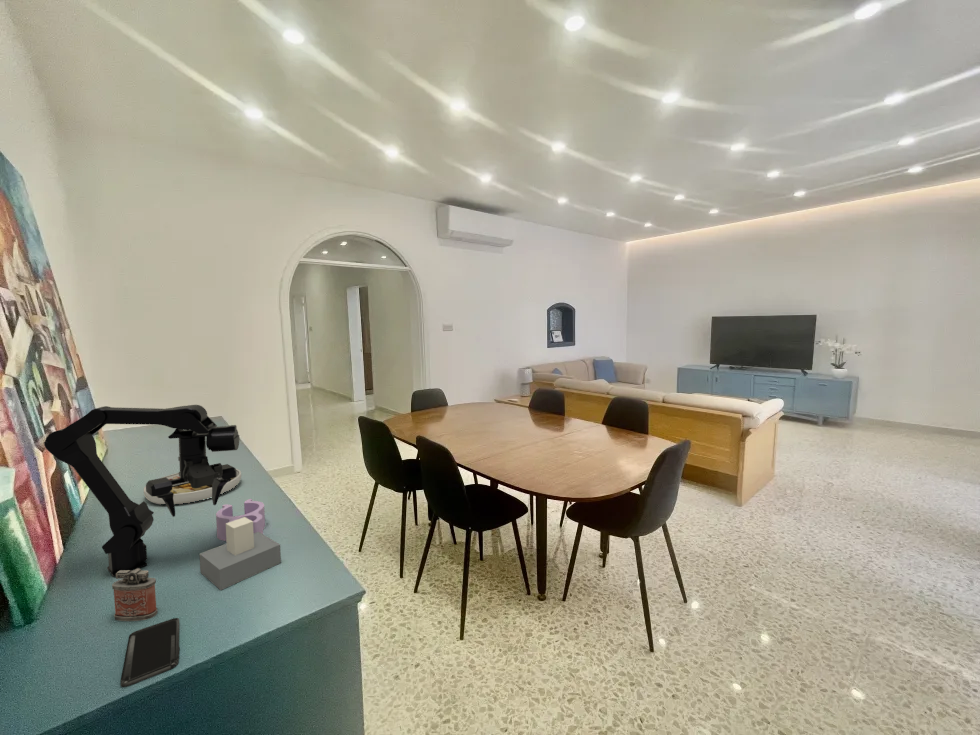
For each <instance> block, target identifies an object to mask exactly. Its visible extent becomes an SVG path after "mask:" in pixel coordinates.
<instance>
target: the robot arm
mask: <svg viewBox="0 0 980 735" xmlns="http://www.w3.org/2000/svg"><path fill="white" fill-rule="evenodd" d="M106 425H149V426H150V425H155V426H156V425H157V426H158V425H159V426H165V427H168V428H171V429H174V431H173V432H172V433H171V434H169V436H167V438H168V439H178V457H177V458H178V460H177V461H178V462H179V471H178V473H179V476H180V478H178V479H173V480H169V479H167V478H166V477H165V476H163V477H164V478H162V477H159V478H155V479H151V480H148V481H147V482H146V484H145V486H146V492H147V493H148V494H150V495H151V496H157V497H158V498H162V499H163V500H164V502H165V504H166V505H165V506H166V507H167V509H168V511H169V513H170V515H171V516H172V517H173V518H175V517H176V507H175V505H174V500H173V495H174V493H172V492H171V490H172V487H176V486H180V485H185V484H189V483H190V484H191V487H192V488H200V487H202V486H206V485H212V498H211V500H212V505H213V506H216V505H217V503H218V501H219V497H220V496H221V495H220V493H221V491H222V489H223V487H224V485H225V484H226V483H227V482H229V481H231V479H230V478H235V477H236V476H237V473H236V469H237V468H236V467H234V466H232V465H230V464H228V463H226V464H222V463H221V462H218V463H213V464H210V463H209V459H208V458H209V457H208V456H207V450H208V451H211V452H212V453H213V452H214V453H215V452H217V453H218V452H231V451H238V449H239V445H240V435H239V431H238V429H237V425H236V424H231V425H227V426H226V425H225V426H223V425H222V426H218V425H217V424H216V422H215V421H213V420H212V418H210V416H208V411H207V410H206V408H205V407H204V406H202V405H200V404H191V405H190V404H188V405H181V406H175V407H169V408H167V407H166V408H155V407H154V408H153V407H150V408H149V407H111V406H101V407H100V406H99V407H98V408H97V407H96V408H93V409H91V410H90V411H89V412H88V413H86V414H85V415H84V416H82V417H81V418H79V419H77V420H76V421H74V422H72V423H70V424H69V425H68V426H66V427H64V428H61V429H59V430H55V431H53V432H51V433H49V434H48V435H47V436H46V438H45V441H44V442H43V444H44V445H43V446H44V448H45V450H47V452H49V453H50V454H51V455H52V456H53V457H54V458H56V459H57V460H58V461H60V462H63V464H67V465H69V466H71V467H72V468H73V469H74V470H75V472H76V473H77V475H78V476H79V477H80V478H81V480H82V481H83V483H84V484H85V485H86V486H87V488H88V489H89V491H91V493H92V494H93V496H94V497H95V498H96V499H97V501H98V502H99V503H100V505H101V506H102V507H103V509H104V510H105V511H106V513H107V514H108V521H109V522H108V523H109V528H110V531H111V532H112V536H111V537H110V538H109V539H108V540H107V541H106V542H105V543H104V544H103V545H101V549H102V550H103V553H105V554H106V555H108V566H107V567H106V569H107V570H108V572H109V573H110V574H111V576H112V577H114V578H116V573H117V572H118V571H120V570H130V571H134V570H135V569H137V568H140V569H141V568H143V567H146V566H147V565H148V563H147V561H148V553H147V551H148V550H147V545H146V543H145V542H144V540H143V539H142V537H143V536H145V533H146V532H147V531H148V530H150V528H151V526H153V523H154V521H155V520H154V519H155V518H154V515H153V514H155V513H154V511H152V510H151V509H150V508H149V506H148V504H147V502H146V501H142V502H141V503H137V502H134V501H133V500H131V499H130V497H129V496H128V495H127V493H126V492H125V491H124V490H123V488H122V487H121V485H120V484H119V483H118V481H117V480H116V479H115V477H114V476H113V475H112V473H111V472H110V471H109V469H108V468H107V466H106V465H105V464H104V463H103V461H102V460H101V459H100V456H98V454H97V442H96V440H95V438H94V435H95V434H96V433H97V432H99V431H100V430H101V429H102V428H104V427H105V426H106Z"/></svg>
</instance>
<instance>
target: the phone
mask: <svg viewBox="0 0 980 735" xmlns="http://www.w3.org/2000/svg"><path fill="white" fill-rule="evenodd" d="M180 651H181V649H180V618H178V617H174V618H170V619H167V620H164V621H161V622H158V623H155V624H153V625H150V626H147V627H143V628H141V629H138V630H135V631H133V632H132V633H130V634H129V635H128V640H127V645H126V650H125V655H124V661H123V665H122V671H121V676H120V687H121V688H127V687H131V686H133V685H135V684H138V683H140V682H143V681H146V680H148V679H151V678H153V677H155V676H159V675H160V674H164V673H167V672H168V671H171V670H173V669H175V668H176V667H177V666H178V665H179V663H180V662H179V661H180Z"/></svg>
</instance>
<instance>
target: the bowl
mask: <svg viewBox="0 0 980 735" xmlns="http://www.w3.org/2000/svg"><path fill="white" fill-rule="evenodd" d="M236 473H237V476H236V477H235V478H230V479H231V481H229V482H227V483H226V484H225V485H224V487H223V489H222V491H221V493H220V494H222V493H224V492H226V491H228V492H230V491H232V490H233V489H234V488H236V487H237V486H238V484H239V483H240V482H241V479H242V471H241V470H240V469H238V468H236ZM164 477H166V478H167V479H169V480H173V479H178V478H180V476H179V472H176V473H172V474H169V475H165V476H163V477H161V478H164ZM236 485H237V486H236ZM235 486H236V487H235ZM232 488H233V489H232ZM231 489H232V490H231ZM229 490H230V491H229ZM171 492H172V493H174V495H173V500H174V504H179V505H184V504H183V503H188V504H191V503H190V502H194V501H199V500H203V499H207V498H210V497H212V485H206V486H202V487H200V488H192V487H191V484H190V483H189V484H185V485H180V486H176V487H172V490H171ZM226 493H227V492H226ZM224 494H225V493H224ZM143 495H144V497H145V498H146V500H148V501H149V502H151V503H153V504H157V505H161V504H165V502H164V500H163V499H162V498H158V497H157V496H151V495H150V494H148V493H147V492H146V485H145V486H144V487H143ZM222 495H223V494H222ZM207 500H208V499H207ZM203 501H204V500H203ZM199 502H200V501H199ZM194 503H195V502H194Z"/></svg>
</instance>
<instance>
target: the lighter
mask: <svg viewBox="0 0 980 735" xmlns="http://www.w3.org/2000/svg"><path fill="white" fill-rule="evenodd" d="M149 575H150V574H149V570H142V569H141V568H137V569H135V570H132V571H130V570H120V571H118V572H117V573H116V577H115V579H116V581H115V582H113V583H112V584H111V587H112V590H113V595H114V596H113V597H114V599H113V600H114V612H115V613H114V614H113V617H114V621H118V622H120V621H121V622H138V621H145V620H149V619H153V618H154V617H155V616H157V614H158V612H159V611H158V607H157V599H156V597H157V596H156V584H157V583H156V578H155V577H149ZM118 579H119V580H118Z"/></svg>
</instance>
